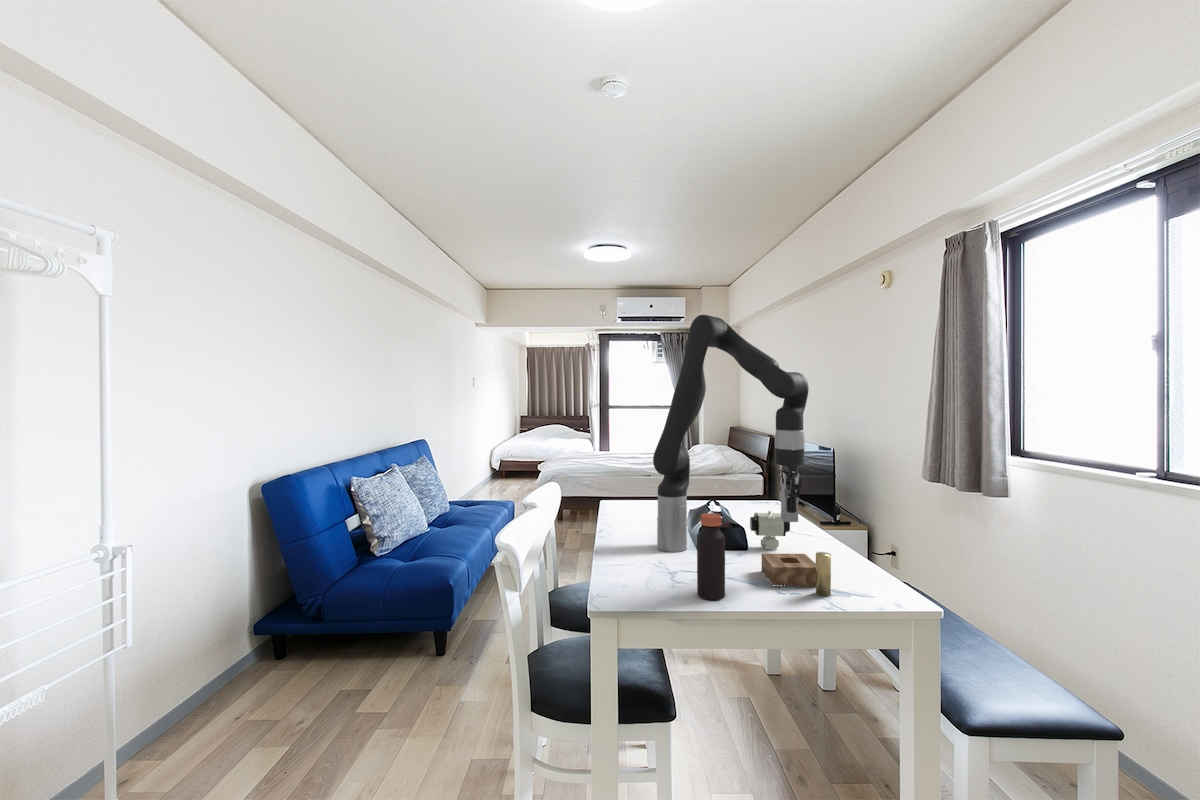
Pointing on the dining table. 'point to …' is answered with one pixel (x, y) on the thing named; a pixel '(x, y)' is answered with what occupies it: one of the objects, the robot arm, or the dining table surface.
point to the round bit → (823, 574)
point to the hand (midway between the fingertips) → (789, 510)
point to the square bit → (784, 513)
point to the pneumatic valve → (769, 528)
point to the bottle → (711, 558)
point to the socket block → (789, 569)
